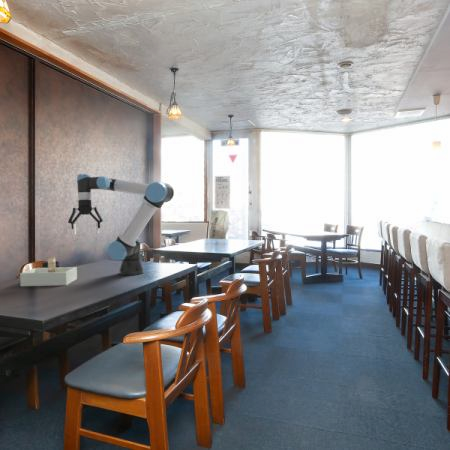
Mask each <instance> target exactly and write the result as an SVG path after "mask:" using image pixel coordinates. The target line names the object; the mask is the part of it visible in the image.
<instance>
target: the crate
mask: <svg viewBox="0 0 450 450" xmlns="http://www.w3.org/2000/svg"><path fill="white" fill-rule="evenodd" d="M19 274H20V276H19V280H20V287H41V286H42V287H43V286H45V287H47V286H49V287H50V286H68V285H70V284H71V283H72V282H74V281H76V280H77V279H78V266H73V267H60V268H56V272H48V268H42V267H34V268H31V269H28V270H25V271H23V272H20V273H19Z"/></svg>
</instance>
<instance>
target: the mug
mask: <svg viewBox="0 0 450 450" xmlns="http://www.w3.org/2000/svg"><path fill="white" fill-rule="evenodd" d="M41 268H48V261H44V262H41ZM56 268H61V266H60V262H59V261H56Z"/></svg>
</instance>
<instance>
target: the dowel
mask: <svg viewBox="0 0 450 450" xmlns="http://www.w3.org/2000/svg"><path fill="white" fill-rule="evenodd" d="M47 262H48V272H56V256H48V257H47Z"/></svg>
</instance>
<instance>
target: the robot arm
mask: <svg viewBox="0 0 450 450" xmlns="http://www.w3.org/2000/svg"><path fill="white" fill-rule="evenodd" d="M76 183H77V199H78V201H77V202H78V204H77V205H78V206H77V207H73V208H72V212H71V215H70V217H69V218H68V221H67V223H68V224H70V225H71V229H72V230H73V235H77V225H76V222H77V220H78V219H79V218H80V217H81V216H84V215H87V216H88V215H90V217H92V219H93V220H94V221H95V222H96V223H95V224H96V234H97V235H99V234H100V229H101V223H102V222H103V223H104V220H103V218H102V216H101V215H100V213H99V211H98V207H97V206H95V207H92V200H91V199H92V190H104V191H105V190H106V191H112V192H120V193H126V194H132V195H138V196H142V197H143V202H142V204H141V206H140V207H139V208H138V210H137V212H136V213H135V215H134V216H133V218H132V219H131V221H130V222H129V224H128V226H127V227H126V229H125V230H124V231H123V233H121V234H119V235H117V237H116V238H115V240H114V241H112V242H111V243H109V244H108V247H107V252H108V256H109V257H110V258H111V259H112V260H114V261H121V263H120V267H119V271H118V274H119V275H121V276H135V275H142V274H144V267H143V263H142V262H141V239H140V238H139V237H140V235H141V234H142V232H143V231H144V229H145V228H146V226H147V224H148V223H149V221H150V220H151V218H152V217H153V215H154V214H155V213H156V212H157V210H160V209H161V208H162V207H163V205H164V203H168V202H170V201H171V200H172V199H173V197H174V195H175V192H174V191H175V190H174V189H173V187H172V186H171V185H170V184H168V183H164V182H161V181H154V182H151V183H143V182H136V181H129V180H124V179H123V180H122V179H115V178H109V177H108V176H102V175H101V176H91V175H90V173H78V174H77V177H76ZM77 211H78V213H77V215H76V212H77ZM92 211H93V212H95V214H96V215H95V214H93V212H92ZM75 215H76V216H75ZM74 216H75V217H74Z"/></svg>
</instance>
